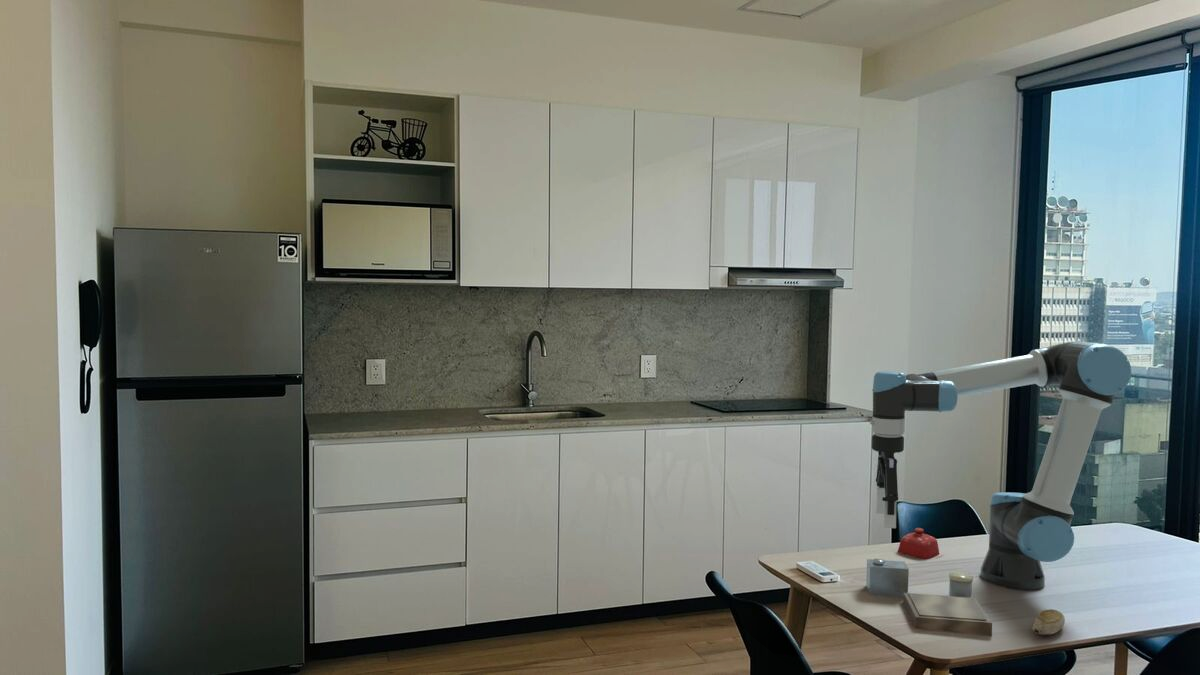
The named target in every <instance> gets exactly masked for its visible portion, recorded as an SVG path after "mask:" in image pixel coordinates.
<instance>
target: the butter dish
mask: <svg viewBox="0 0 1200 675" xmlns="http://www.w3.org/2000/svg"><path fill="white" fill-rule="evenodd" d="M913 531H914V532H911V533H907V534H905V535H904V536H902V537H901V539H900V542H899V547H898V550H897V552H898V553H901V554H903V555H907V556H909V557H910V556H911V557H914V558H917V559H921V560H930V559H933V558H934V560H937V559H938V558H942V557H943V556H944V555H940V556H938V555H939V554H940V548H939V543H938V540H937V538H936V537H934V536H931V535H929V534H926V533H924V528H921V527H916V528H914V530H913ZM935 557H936V558H935Z"/></svg>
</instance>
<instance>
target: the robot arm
mask: <svg viewBox="0 0 1200 675" xmlns="http://www.w3.org/2000/svg"><path fill="white" fill-rule="evenodd" d="M1131 377H1132V366H1131V363H1130V360H1129V359H1128V357H1127V355H1126V354H1125V353H1124V352H1123V351H1122V350H1120V349H1119V348H1117V347H1115V346H1113V345H1108V343H1107V344H1106V343H1101V342H1090V341H1089V342H1088V341H1082V340H1081V341H1080V340H1075V341H1074V340H1073V341H1067V342H1063V343H1059V344H1055V345H1050V346H1046V347H1042V348H1036V349H1032V350H1031V351H1030V352H1029V353H1028V354H1026V355H1019V356H1013V357H1009V358H1004V359H997V360H992V361H987V362H980V363H974V364H970V365H969V364H968V365H964V366H963V365H962V366H958V367H952V368H947V369H942V370H937V371H932V372H924V373H919V374H916V373H908V374H906V373H905V372H902V371H890V370H889V371H887V370H886V371H884V370H883V371H877V372H876V373H875V374H874V376H873V381H872V382H873V385H872V390H871V391H872V420H870V421H869V424H870V425H872V426H871V431H872V433H873V435H871V449H872V451H875V452H877V453H878V458H877V465H876V466H877V467H876V468H877V470H876V478H875V483H876V486H877V487H876V510H875V511H876V512H875V513H876V514H878V515H879V514H882V515H883V528H884V529H896V528H897V505H898V504H897V502H898V501H899V493H898V491H899V489H898V467H897V466H898V465H897V464H898V460H897V459H896V457H895V454H896V453H897V454H899V453H902V452H903V451H904V450H905V449H904V448H905V437H904V436H903V435H904V434H905V430H906V429H905V428H906V427H905V424H906V416H905V415H906V414H905V413H906V412H914V411H915V412H938V413H942V412H952V411H954V410H955V408H956V407H957V403H958V397H966V396H970V395H971V396H972V395H977V394H982V393H983V394H984V393H988V392H995V391H1001V390H1005V389H1006V390H1007V389H1011V388H1012V389H1013V388H1017V387H1024V386H1030V385H1037V386H1038V387H1047V386H1059V387H1058V392H1059V394H1060V395H1061V397H1062V399H1061V400H1062V401H1061V403H1060V406H1059V409H1058V412H1057V415H1056V419H1055V421H1054V423H1053V424H1054V425H1053V427H1052V430H1051V433H1050V436H1049V439H1048V443H1047V444H1046V448H1045V451H1044V454H1043V456H1042V460H1041V463H1040V465H1039V467H1038V468H1039V469H1038V471H1037V475H1036V478H1035V481H1034V484H1033V487H1032V489H1031V491H1029V492H1026V493H1025V492H1024V493H1023V492H1009V491H1008V492H1006V491H1005V492H1001V491H1000V492H996V493H995V492H994V493H993V494H992V495H991V497H990V503H989V529H988V531H989V533H988V534H989V536H988V539H989V540H988V550H987V552H986V554H985V557H984V560H983V562H982V564H981V567H980V577H981V578H982V580H984V581H986V582H987V583H989V584H991V585H994V586H997V587H1001V588H1005V589H1010V590H1017V591H1019V590H1020V591H1034V590H1039V589H1042V588H1044V587H1045V580H1046V578H1045V574H1044V570H1043V566H1042V564H1041V562H1042V563H1043V562H1044V563H1050V562H1051V563H1053V562H1056V561H1058V560H1062V559H1063V558H1064V557H1066V556H1067V555H1068V554H1069V553H1070V551H1071V550H1072V548H1073V547H1074V543H1075V534H1074V531H1073V528H1072V525H1071V523H1072V520H1073V517H1074V514H1075V512H1074V510H1073V508H1072V507H1071V502H1072V497H1073V495H1074V492H1075V489H1076V487H1077V484H1078V480H1079V477H1080V475H1081V471H1082V468H1083V466H1084V463H1085V460H1086V456H1087V454H1088V451H1089V448H1090V445H1091V442H1092V439H1093V436H1094V433H1095V431H1096V427H1097V425H1098V422H1099V418H1100V416H1101V413H1102V411H1103V410H1104V409H1107V408H1108V407H1111V406H1112V404H1113V400H1114V398H1115V395H1116V394H1118V393H1119V392H1121V391H1123V390H1124V389H1125V388H1126V387H1127V386H1128V384H1129V383H1130V381H1131Z"/></svg>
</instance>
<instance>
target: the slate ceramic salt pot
mask: <svg viewBox="0 0 1200 675" xmlns="http://www.w3.org/2000/svg"><path fill="white" fill-rule="evenodd" d="M948 579H949V588H948V590H949V591H948V596H957V597H971V598H972V592H973V590H972V588H973V581H974V577H973V575H972V574H970V573H966V572H962V571H953V572H949V573H948Z"/></svg>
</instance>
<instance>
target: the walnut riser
mask: <svg viewBox="0 0 1200 675" xmlns="http://www.w3.org/2000/svg"><path fill="white" fill-rule="evenodd" d="M902 600H903V605H904V607H905V609H906V611H907V613H908V615H909V619H910V620H911V622H912V624H913V627H914V629H918V630H925V631H926V630H928V631H937V632H947V633H957V634H968V635H978V636H988V637H992V635H993V622H992V621H991V619H990V617H989V616H988V614H987V613H986V612H985V611H984V609H983V608H982V606H981V605H980V603H979V602H978V600H976V597H972V596H971V597H957V596H949V595H942V594H927V593H915V592H914V593H911V592H908V593H904V596H903V598H902Z"/></svg>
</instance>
